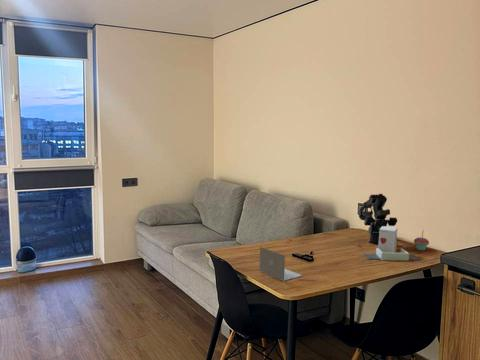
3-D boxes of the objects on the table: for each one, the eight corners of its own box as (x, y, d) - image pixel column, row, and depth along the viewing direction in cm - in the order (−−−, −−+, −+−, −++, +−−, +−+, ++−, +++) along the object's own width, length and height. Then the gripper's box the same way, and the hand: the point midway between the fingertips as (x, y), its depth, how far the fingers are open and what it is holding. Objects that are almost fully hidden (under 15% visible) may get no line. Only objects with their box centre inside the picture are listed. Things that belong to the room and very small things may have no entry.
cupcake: (415, 246, 269) (416, 227, 268) (429, 248, 265) (431, 229, 263) (411, 249, 262) (413, 230, 261) (426, 252, 257) (428, 232, 256)
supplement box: (377, 254, 252) (378, 228, 250) (380, 250, 260) (381, 225, 258) (394, 256, 247) (395, 230, 246) (396, 252, 255) (397, 227, 254)
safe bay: (363, 254, 250) (364, 247, 250) (414, 255, 250) (414, 248, 249) (368, 259, 240) (369, 252, 240) (421, 260, 240) (421, 253, 239)
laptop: (302, 276, 212) (303, 250, 211) (283, 282, 204) (284, 255, 203) (277, 267, 226) (278, 242, 225) (259, 271, 219) (259, 246, 217)
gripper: (366, 204, 265) (370, 226, 255) (397, 204, 265) (402, 226, 255) (362, 214, 274) (366, 235, 264) (392, 214, 273) (397, 236, 264)
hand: (383, 233), depth 261 cm, fingers closed
